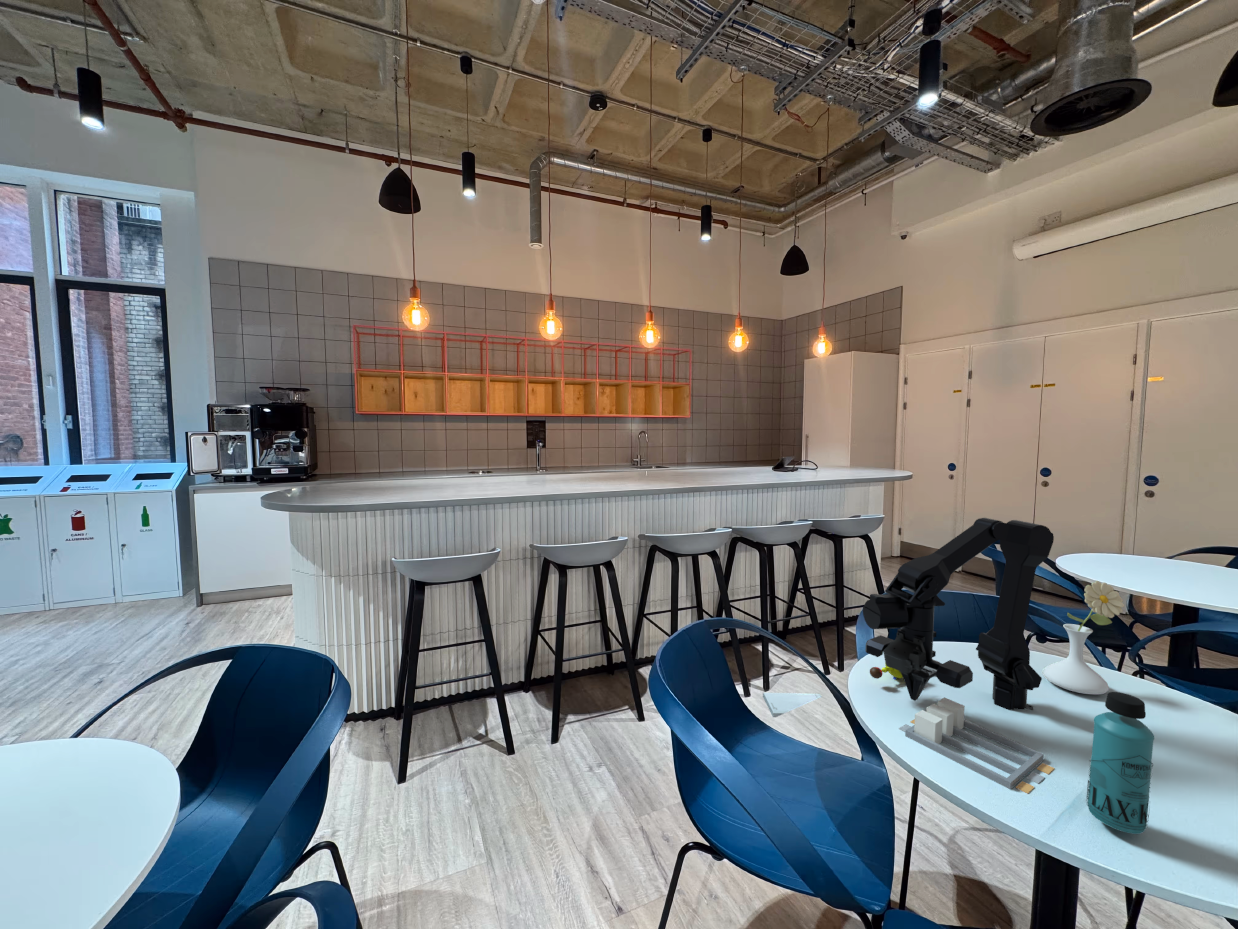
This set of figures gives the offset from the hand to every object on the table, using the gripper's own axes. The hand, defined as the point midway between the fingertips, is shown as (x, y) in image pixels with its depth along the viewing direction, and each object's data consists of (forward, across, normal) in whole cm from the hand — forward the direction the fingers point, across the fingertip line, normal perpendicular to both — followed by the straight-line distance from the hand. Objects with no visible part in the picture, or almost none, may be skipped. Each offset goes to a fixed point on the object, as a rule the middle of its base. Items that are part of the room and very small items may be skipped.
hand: (914, 699), depth 103 cm
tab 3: (+2, +7, 0) cm, 7 cm away
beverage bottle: (+3, +32, -5) cm, 32 cm away
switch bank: (+3, +12, -4) cm, 13 cm away
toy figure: (+3, -9, +10) cm, 13 cm away
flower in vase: (+3, +14, +43) cm, 45 cm away
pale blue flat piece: (+4, -15, -18) cm, 24 cm away
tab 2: (+2, +7, -4) cm, 8 cm away
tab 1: (+2, +7, -8) cm, 11 cm away
